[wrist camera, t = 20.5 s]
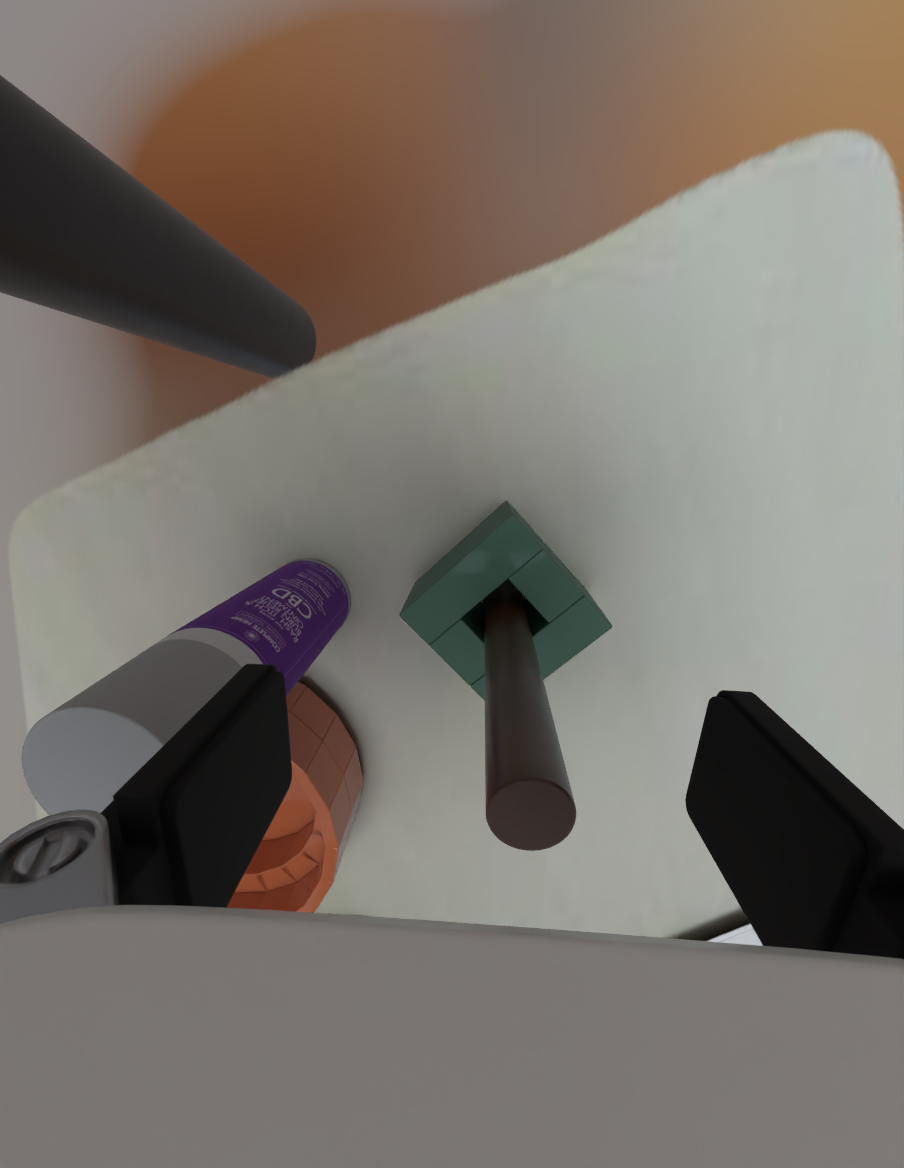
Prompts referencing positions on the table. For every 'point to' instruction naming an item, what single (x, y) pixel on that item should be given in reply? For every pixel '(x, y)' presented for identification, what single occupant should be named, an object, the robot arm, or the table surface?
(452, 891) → the table surface
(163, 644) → the container
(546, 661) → the holder
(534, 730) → the stick
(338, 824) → the bowl
